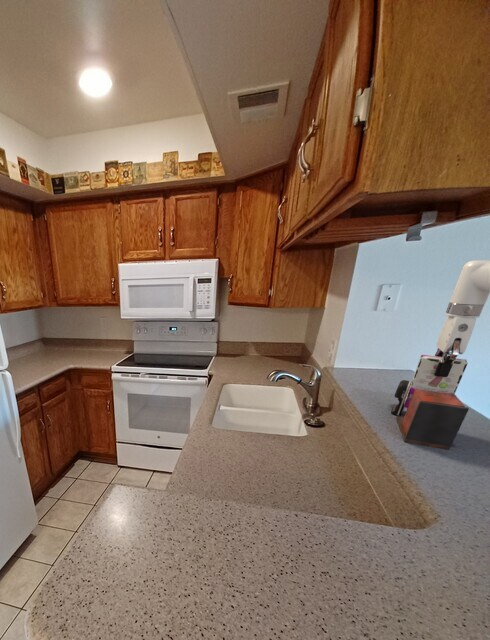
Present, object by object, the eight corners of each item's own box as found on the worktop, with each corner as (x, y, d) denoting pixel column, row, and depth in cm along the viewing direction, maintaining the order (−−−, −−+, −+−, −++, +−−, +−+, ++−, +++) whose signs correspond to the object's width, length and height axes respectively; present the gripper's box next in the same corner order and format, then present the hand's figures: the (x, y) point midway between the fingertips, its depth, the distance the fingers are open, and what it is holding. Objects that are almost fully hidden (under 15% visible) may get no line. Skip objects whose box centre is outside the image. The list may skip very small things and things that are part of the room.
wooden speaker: (434, 424, 108) (450, 387, 102) (449, 450, 94) (469, 408, 88) (396, 418, 112) (409, 382, 106) (404, 442, 98) (420, 402, 92)
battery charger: (390, 407, 120) (400, 377, 115) (402, 410, 118) (413, 380, 113) (387, 414, 116) (398, 383, 110) (400, 416, 114) (412, 385, 108)
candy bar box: (444, 409, 104) (467, 359, 96) (445, 415, 100) (469, 363, 92) (403, 402, 110) (421, 353, 102) (402, 407, 106) (421, 357, 98)
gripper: (492, 315, 83) (461, 383, 91) (470, 307, 96) (445, 367, 105) (455, 313, 85) (429, 380, 94) (439, 305, 99) (417, 364, 108)
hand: (438, 372), depth 99 cm, fingers closed on candy bar box, 5 cm apart
